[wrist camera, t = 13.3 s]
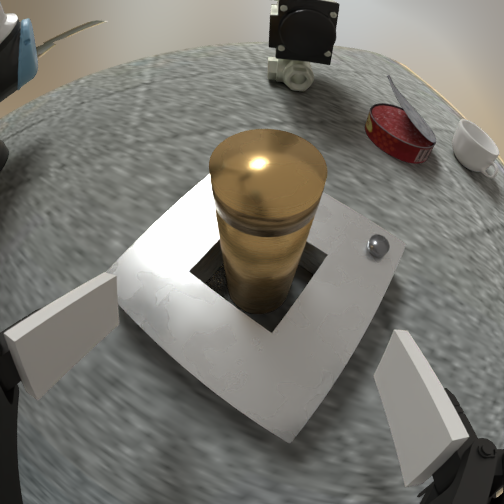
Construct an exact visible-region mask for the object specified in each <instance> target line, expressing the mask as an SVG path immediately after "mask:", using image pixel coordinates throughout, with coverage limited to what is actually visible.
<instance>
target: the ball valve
mask: <svg viewBox="0 0 504 504" xmlns="http://www.w3.org/2000/svg"><path fill="white" fill-rule="evenodd" d="M276 1H278V2H277V4H272V6H271V13H270V31H269V47H271V48H276V57H269V58H268V74H267V78H268V79H273V80H276V82H284V83H285V84H286V85H287V86H288V87H289V88H290V89H291V90H295V91H305V90H306V89H307V88H308V87H310V86H311V85H312V83H313V81H314V75H313V71H312V68H311V65H310V62H313V63H320V64H327V65H330V62H331V57H332V51H333V45H334V43H335V41H336V25H337V18H338V12H339V4H338V3H337V2H335V1H333V0H276Z"/></svg>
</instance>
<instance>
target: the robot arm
mask: <svg viewBox="0 0 504 504" xmlns="http://www.w3.org/2000/svg"><path fill="white" fill-rule="evenodd" d="M37 70H38V60H37V52H36V46H35V39H34V34H33V28H32V24H31V21H30V19H24V20H22V21H21V22H19V20H18V17H17V15H15V14H5V13H4V10H3V8H2V5H1V2H0V102H1V101H3V100H4V99H5V98H7V97H8V96H9V95H11V94H12V93H14V92H15V91H16V90H19V89H20V88H21V87H22V86H23V85H24V84H26V83H27V82H29V81H30V80H31V79H33V78H34V77H35V75H36V73H37ZM8 153H9V151H8V149H7V147H6V145H5V144H4V142H3V141H1V140H0V171H1V169H2V167H3V166H4V164H5V162H6V160H7V157H8ZM118 325H119V312H118V297H117V276H116V275H113V274H109V273H106V272H104V273H102V274H100V275H99V276H97V277H95V278H93V279H91V280H90V281H88V282H86V283H84V284H83V285H81V286H79V287H77V288H76V289H74V290H72V291H71V292H69V293H67V294H65V295H64V296H62V297H60V298H59V299H57V300H55V301H54V302H52V303H50V304H49V305H47V306H45V307H44V308H41V309H38V310H35V311H34V312H32V313H31V314H29V315H28V316H26V317H24V318H23V319H22V320H19V321H18V322H16V323H15V324H13V325H12V326H10V327H8V328H7V329H5V330H4V331H2V332H1V333H0V504H23V501H22V495H21V488H20V480H19V471H18V456H17V414H18V399H19V387H18V385H17V384H18V383H19V382H20V381H22V384H23V386H24V388H25V390H26V392H27V393H29V394H30V395H31V396H33V397H34V398H35V399H37V400H39V399H40V398H41V397H42V396H43V395H44V394H45V393H46V392H47V391H48V390H49V389H50V388H51V387H52V386H53V385H54V384H56V383H57V382H58V381H59V380H60V379H61V378H62V377H63V376H64V375H65V374H66V373H67V372H68V371H69V370H70V369H71V368H72V367H73V366H74V365H75V364H77V363H78V362H79V361H80V360H81V359H82V358H83V357H84V356H85V355H86V354H87V353H88V352H89V351H91V350H92V349H93V348H94V347H95V346H96V345H97V344H98V343H99V342H100V341H101V340H102V339H104V338H105V337H106V336H107V335H108V334H109V333H110V332H111V331H112V330H114V329H115V328H116V327H117V326H118ZM374 379H375V382H376V385H377V388H378V391H379V394H380V397H381V401H382V404H383V407H384V410H385V413H386V417H387V420H388V423H389V427H390V430H391V434H392V437H393V441H394V444H395V448H396V452H397V456H398V459H399V463H400V467H401V471H402V476H403V480H404V484H405V487H409V486H414V485H419V484H423V483H424V482H425V481H426V480H427V479H428V478H429V477H431V476H433V479H434V482H432V483H431V484H430V485H429V486H428V487H426V488H425V489H424V490H423V491H422V492H420V493H419V495H418V496H417V497H420V496H422V495H423V494H424V493H425V495H424V497H423V498H422V500H421V502H420V504H504V449H497V448H496V446H495V445H494V444H493V443H492V442H491V441H490V440H488V439H485V438H479V439H478V438H477V436H476V434H475V432H474V430H473V428H472V426H471V424H470V422H469V420H468V419H467V417H466V415H465V414H463V412H464V411H463V410H462V408H461V407H460V404H459V402H458V401H457V399H456V397H455V396H454V395H453V394H452V393H451V392H450V391H449V390H448V389H447V388H443V387H442V385H441V383H440V381H439V380H438V378H437V376H436V375H435V373H434V371H433V370H432V368H431V366H430V365H429V363H428V362H427V360H426V358H425V357H424V355H423V354H422V352H421V350H420V349H419V347H418V346H417V344H416V343H415V341H414V340H413V338H412V337H411V335H410V334H409V332H408V331H404V330H395V329H394V331H393V333H392V336H391V338H390V341H389V343H388V345H387V348H386V350H385V352H384V354H383V357H382V359H381V361H380V363H379V365H378V367H377V370H376V372H375V374H374ZM502 487H503V493H502V494H501V495H500V496H499V497H497V498H496V492H497V491H499V490H500V489H501V488H502Z"/></svg>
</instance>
